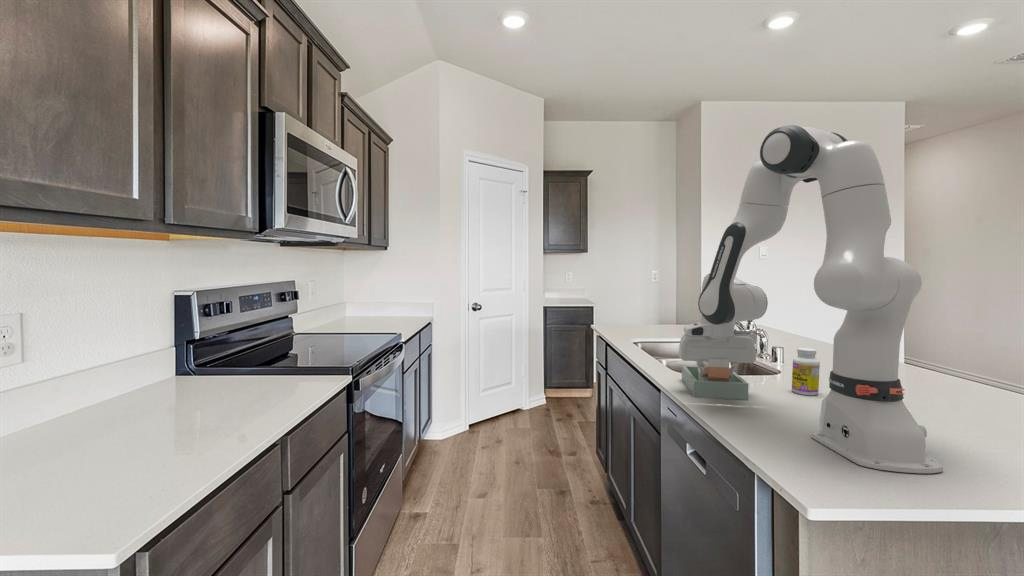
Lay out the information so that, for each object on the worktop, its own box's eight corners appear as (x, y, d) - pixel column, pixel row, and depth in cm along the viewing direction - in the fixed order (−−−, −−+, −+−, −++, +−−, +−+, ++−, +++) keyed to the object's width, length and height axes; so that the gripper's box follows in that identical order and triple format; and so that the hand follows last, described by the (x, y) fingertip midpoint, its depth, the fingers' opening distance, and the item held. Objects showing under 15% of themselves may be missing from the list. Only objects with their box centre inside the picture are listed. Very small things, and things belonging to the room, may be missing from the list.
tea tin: (723, 386, 138) (724, 355, 137) (728, 391, 132) (729, 359, 132) (703, 385, 139) (704, 355, 138) (707, 390, 133) (708, 358, 133)
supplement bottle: (786, 390, 140) (787, 347, 139) (803, 389, 142) (805, 346, 141) (806, 396, 134) (808, 351, 133) (824, 395, 136) (825, 350, 135)
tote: (747, 402, 129) (748, 383, 128) (693, 399, 131) (693, 381, 131) (728, 383, 148) (729, 367, 148) (681, 381, 151) (682, 365, 150)
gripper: (753, 328, 136) (751, 376, 136) (678, 326, 140) (677, 373, 140) (760, 331, 130) (758, 381, 130) (681, 329, 133) (680, 378, 134)
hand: (716, 377), depth 135 cm, fingers closed on tea tin, 5 cm apart
